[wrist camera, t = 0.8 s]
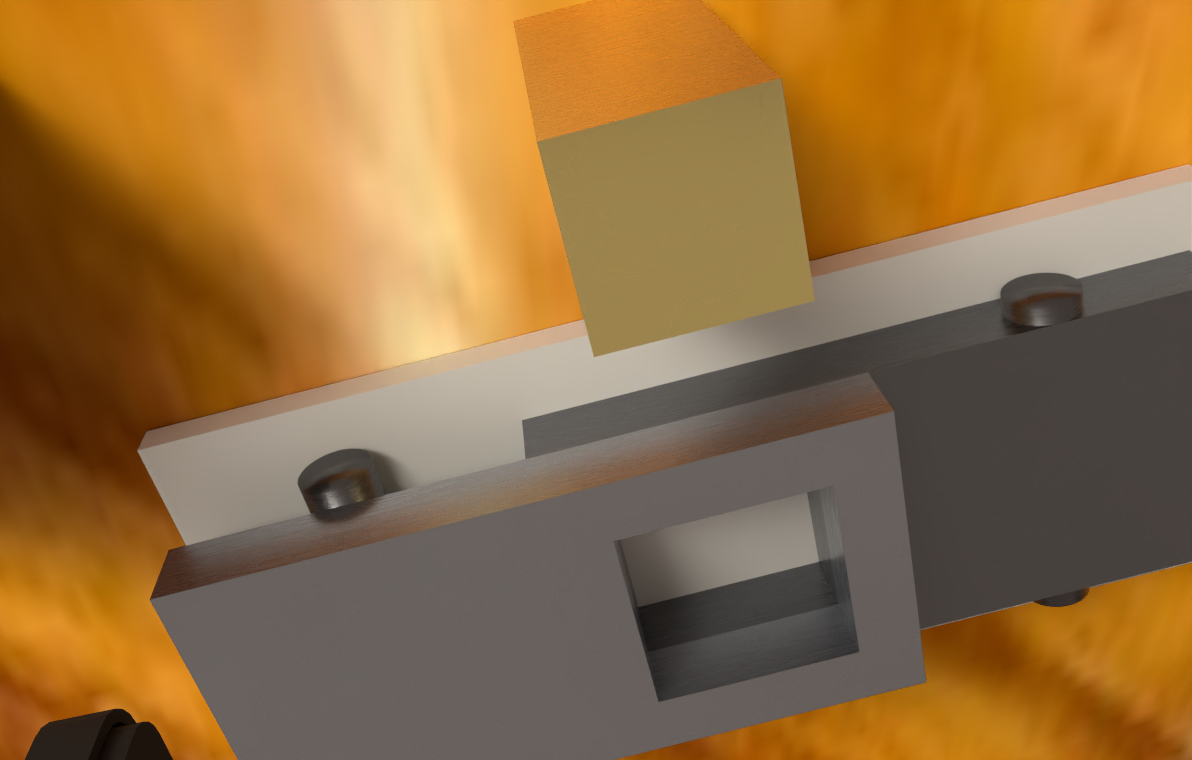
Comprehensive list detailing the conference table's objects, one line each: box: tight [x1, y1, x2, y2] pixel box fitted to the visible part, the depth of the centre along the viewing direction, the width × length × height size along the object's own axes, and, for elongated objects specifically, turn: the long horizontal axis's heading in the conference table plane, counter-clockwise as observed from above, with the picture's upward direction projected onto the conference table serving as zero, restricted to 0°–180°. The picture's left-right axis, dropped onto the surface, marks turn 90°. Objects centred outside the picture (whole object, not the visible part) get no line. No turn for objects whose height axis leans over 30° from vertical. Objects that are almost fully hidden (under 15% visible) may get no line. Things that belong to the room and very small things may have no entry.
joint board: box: [137, 164, 1192, 630], centre depth 33 cm, size 29×13×1 cm, turn 103°
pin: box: [513, 0, 815, 357], centre depth 23 cm, size 4×4×10 cm
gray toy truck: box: [150, 250, 1192, 760], centre depth 31 cm, size 28×10×4 cm, turn 103°
